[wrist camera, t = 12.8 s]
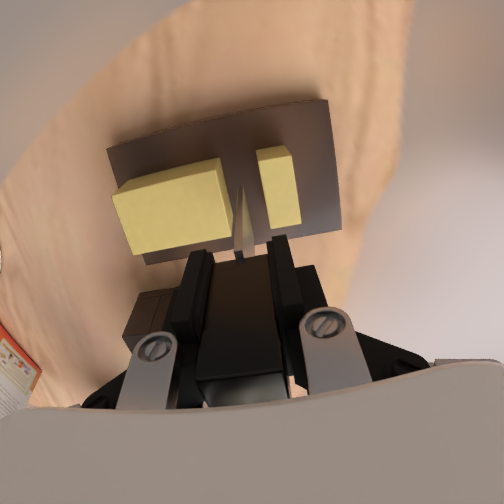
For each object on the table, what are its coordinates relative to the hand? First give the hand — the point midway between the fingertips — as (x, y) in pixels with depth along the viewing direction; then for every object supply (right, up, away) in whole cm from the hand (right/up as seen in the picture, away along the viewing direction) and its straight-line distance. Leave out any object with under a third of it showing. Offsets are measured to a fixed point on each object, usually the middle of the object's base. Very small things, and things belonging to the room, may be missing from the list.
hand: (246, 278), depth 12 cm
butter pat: (+2, +6, +10) cm, 12 cm away
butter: (-5, +5, +11) cm, 13 cm away
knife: (0, +3, +6) cm, 7 cm away
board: (-2, +6, +12) cm, 14 cm away
